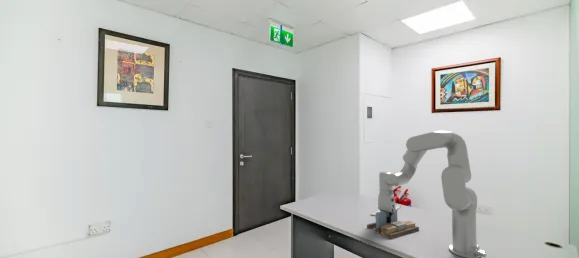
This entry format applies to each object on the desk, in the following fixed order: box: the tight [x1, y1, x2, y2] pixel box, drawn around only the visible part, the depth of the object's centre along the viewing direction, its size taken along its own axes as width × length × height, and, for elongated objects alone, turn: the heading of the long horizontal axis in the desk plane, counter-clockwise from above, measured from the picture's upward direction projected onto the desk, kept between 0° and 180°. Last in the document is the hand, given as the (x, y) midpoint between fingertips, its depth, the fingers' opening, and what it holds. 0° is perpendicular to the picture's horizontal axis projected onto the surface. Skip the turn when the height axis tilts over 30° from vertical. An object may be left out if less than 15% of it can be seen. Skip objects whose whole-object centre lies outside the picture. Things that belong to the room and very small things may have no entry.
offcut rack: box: [366, 220, 420, 240], centre depth 146 cm, size 18×24×2 cm
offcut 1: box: [380, 224, 397, 238], centre depth 139 cm, size 5×7×4 cm
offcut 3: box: [403, 220, 416, 229], centre depth 146 cm, size 5×7×4 cm
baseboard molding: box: [369, 203, 401, 217], centre depth 180 cm, size 31×3×12 cm
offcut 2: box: [391, 220, 406, 232], centre depth 142 cm, size 5×7×5 cm
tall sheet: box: [375, 210, 398, 229], centre depth 150 cm, size 2×16×9 cm, turn 117°
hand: (386, 221), depth 150 cm, fingers closed on tall sheet, 2 cm apart
